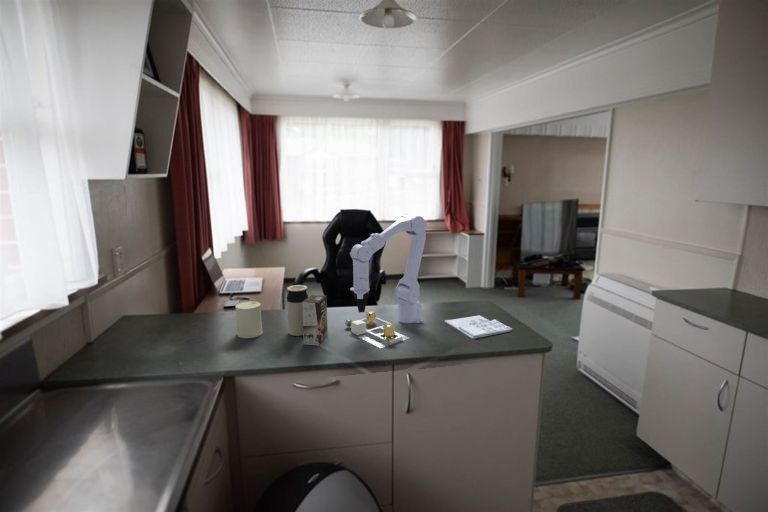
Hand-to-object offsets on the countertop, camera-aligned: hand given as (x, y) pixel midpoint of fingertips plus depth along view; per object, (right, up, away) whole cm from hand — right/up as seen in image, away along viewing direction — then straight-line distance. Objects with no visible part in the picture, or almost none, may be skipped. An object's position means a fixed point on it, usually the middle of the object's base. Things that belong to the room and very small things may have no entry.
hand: (361, 311), depth 157 cm
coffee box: (-17, -10, -5) cm, 20 cm away
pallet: (+8, -10, -5) cm, 14 cm away
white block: (-1, -9, 0) cm, 9 cm away
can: (-43, -9, +2) cm, 44 cm away
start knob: (-3, -7, +3) cm, 8 cm away
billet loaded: (+10, -9, -7) cm, 16 cm away
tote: (+3, -7, +9) cm, 12 cm away
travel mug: (-24, -9, +3) cm, 26 cm away
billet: (+3, -7, +9) cm, 11 cm away
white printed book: (+46, -8, +9) cm, 47 cm away
